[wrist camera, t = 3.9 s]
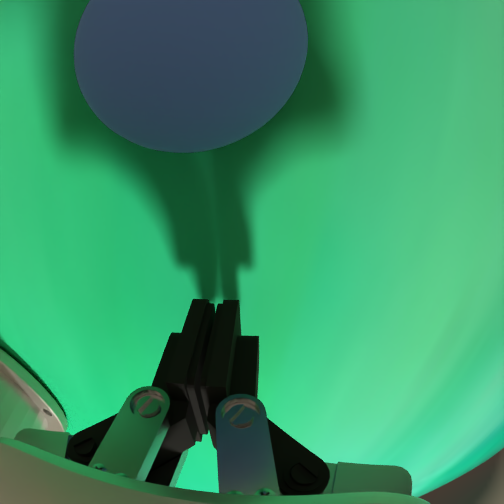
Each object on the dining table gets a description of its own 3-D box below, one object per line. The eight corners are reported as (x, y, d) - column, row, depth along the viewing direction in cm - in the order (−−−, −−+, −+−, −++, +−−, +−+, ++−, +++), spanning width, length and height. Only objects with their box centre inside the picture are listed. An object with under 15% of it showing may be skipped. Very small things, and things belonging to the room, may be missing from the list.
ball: (136, 144, 10) (36, 191, 5) (131, 1, 7) (35, -48, 3) (297, 137, 10) (328, 175, 5) (294, -16, 7) (316, -106, 2)
